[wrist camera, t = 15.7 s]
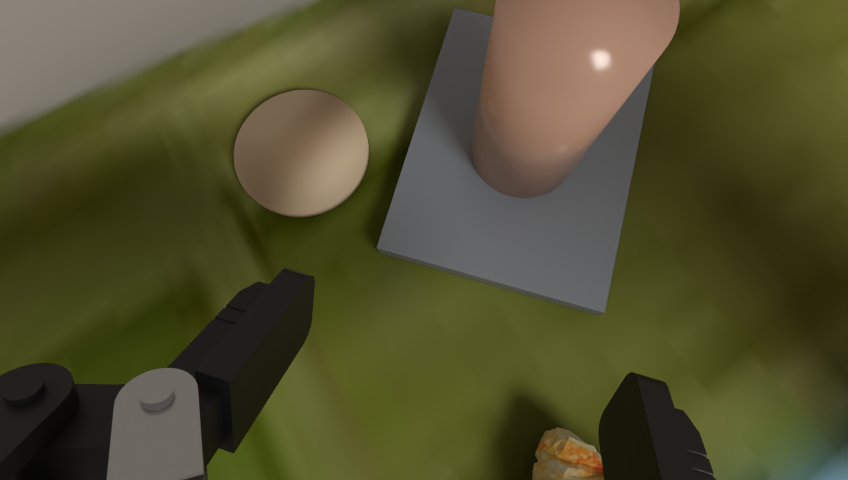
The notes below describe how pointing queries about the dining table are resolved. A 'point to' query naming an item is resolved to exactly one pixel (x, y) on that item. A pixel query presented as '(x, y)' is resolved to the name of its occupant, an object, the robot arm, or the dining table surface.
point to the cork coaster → (301, 153)
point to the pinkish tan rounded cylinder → (559, 83)
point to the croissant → (566, 458)
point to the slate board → (501, 214)
